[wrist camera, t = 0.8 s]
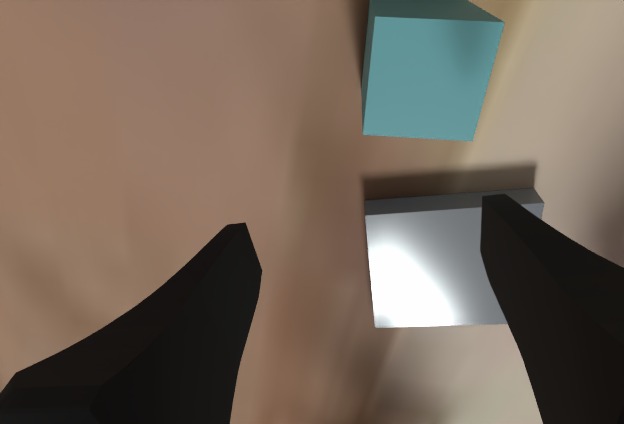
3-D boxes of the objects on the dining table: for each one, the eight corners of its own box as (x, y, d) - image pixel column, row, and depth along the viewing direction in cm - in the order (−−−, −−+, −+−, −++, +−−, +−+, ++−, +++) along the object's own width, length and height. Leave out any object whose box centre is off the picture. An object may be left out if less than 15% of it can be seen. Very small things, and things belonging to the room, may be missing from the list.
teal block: (465, -1, 17) (504, 22, 13) (445, 93, 19) (472, 141, 15) (370, -5, 17) (375, 16, 13) (361, 88, 20) (362, 134, 15)
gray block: (530, 183, 22) (544, 202, 21) (510, 299, 27) (520, 323, 25) (364, 196, 24) (365, 215, 22) (373, 305, 28) (375, 327, 27)
